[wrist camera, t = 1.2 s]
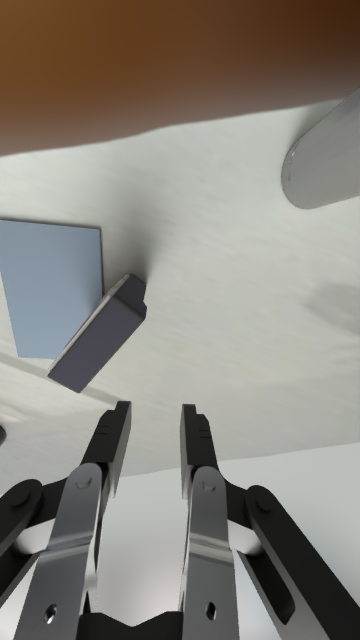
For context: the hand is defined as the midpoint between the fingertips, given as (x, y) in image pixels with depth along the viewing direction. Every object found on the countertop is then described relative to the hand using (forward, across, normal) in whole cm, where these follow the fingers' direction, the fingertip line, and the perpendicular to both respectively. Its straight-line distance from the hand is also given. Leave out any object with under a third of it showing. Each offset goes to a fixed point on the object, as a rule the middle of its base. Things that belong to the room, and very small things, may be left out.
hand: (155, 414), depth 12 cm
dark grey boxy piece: (+23, +8, 0) cm, 24 cm away
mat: (+23, +18, 0) cm, 29 cm away
